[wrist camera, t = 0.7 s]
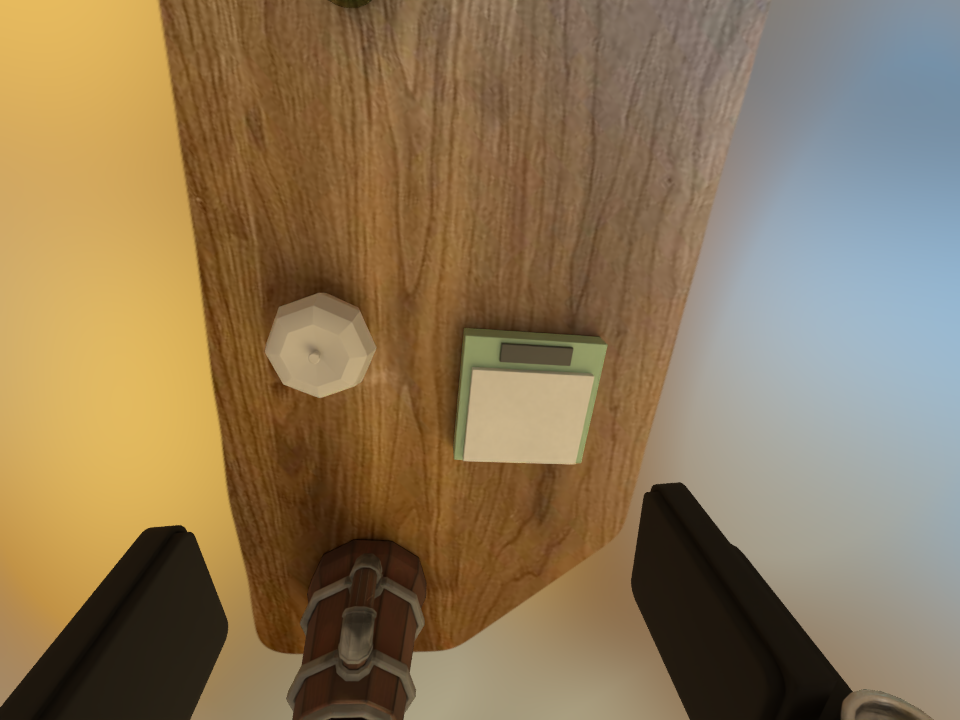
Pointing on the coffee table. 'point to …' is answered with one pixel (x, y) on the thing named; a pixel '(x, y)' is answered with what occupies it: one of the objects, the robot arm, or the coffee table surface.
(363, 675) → the mug
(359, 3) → the soda can
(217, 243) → the coffee table surface
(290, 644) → the coffee table surface
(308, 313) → the white apple
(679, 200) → the coffee table surface
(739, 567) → the robot arm
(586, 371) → the scale
